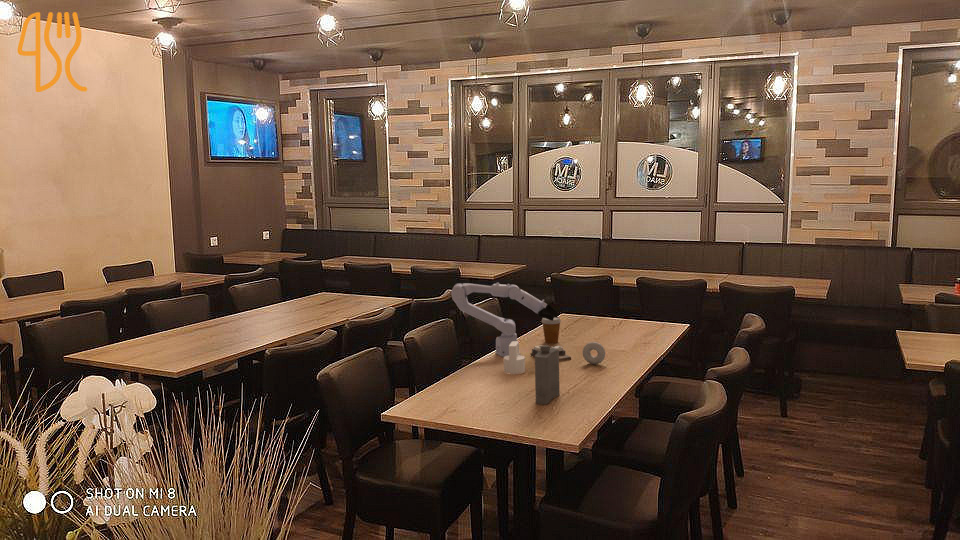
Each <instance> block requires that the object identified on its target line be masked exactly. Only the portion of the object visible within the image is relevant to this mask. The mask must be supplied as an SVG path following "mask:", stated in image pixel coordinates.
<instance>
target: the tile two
mask: <svg viewBox="0 0 960 540" xmlns="http://www.w3.org/2000/svg"><path fill="white" fill-rule="evenodd" d="M550 348H555V349H558V350H559V351H563V350H564V347H563V346H560V345H554V346H550Z"/></svg>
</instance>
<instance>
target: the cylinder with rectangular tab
mask: <svg viewBox="0 0 960 540" xmlns="http://www.w3.org/2000/svg"><path fill="white" fill-rule="evenodd" d="M519 353H520V341H518V340H517V341H512V342H511V343H510V345H509V355H508V356H505V357H503V372H504V373H505V374H507V373H510V374H509V375H520V374H519V373H521V374H524V373H526V357H525V355H521V354H520V355H519ZM523 372H524V373H523Z"/></svg>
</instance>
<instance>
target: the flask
mask: <svg viewBox="0 0 960 540" xmlns="http://www.w3.org/2000/svg"><path fill="white" fill-rule="evenodd" d="M540 350H541V351H540V352H538V353H537V354H536V355H535V358H534V377H535V378H534V380H535V381H534V382H535V387H534V388H535V389H534V390H535V391H534V392H535V403H536V404H537V405H540V404H542V405H541V406H545V404H546V405H549V404H550V402H551V401H552V400H553V399H555V398H557V397H559V396H560V394H561V393H560V392H561V391H560V361H559V350H558V349H555V348H551V346H550V345H549V344H544V345H543V344H542V346H541V347H540ZM556 396H557V397H556ZM554 397H555V398H554ZM548 403H549V404H548Z"/></svg>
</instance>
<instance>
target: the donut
mask: <svg viewBox="0 0 960 540" xmlns="http://www.w3.org/2000/svg"><path fill="white" fill-rule="evenodd" d="M592 350H593V351H596V352H597V355H596V356H594V355H592V354H591V351H592ZM582 356H583V358H584V360H585V361H586V362H587V363H589V364H590V365H598V364H601V363H602V362H603V361H604V360H605V358H606V350H605V347H604V346H603V345H602V344H601V343H599V342H597V341H590V342H588V343H586V344H585V345H584V347H583V348H582Z"/></svg>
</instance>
